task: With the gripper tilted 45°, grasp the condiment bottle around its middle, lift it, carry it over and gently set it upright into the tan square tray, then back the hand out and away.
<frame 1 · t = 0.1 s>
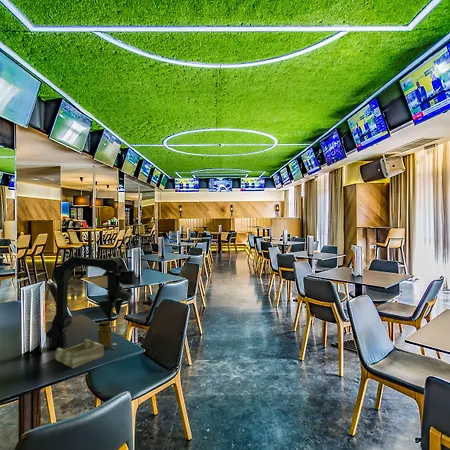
hand: (114, 317, 147), 15 cm above the table, tool pointing down, fingers open, 9 cm apart
condiment: (106, 347, 148), on the table
tan square tray: (79, 357, 136), on the table
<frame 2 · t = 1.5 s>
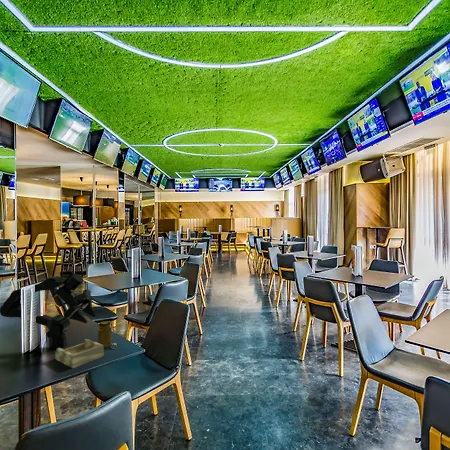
hand: (91, 319, 148), 13 cm above the table, tool tilted 45°, fingers open, 9 cm apart
nothing on the table moved.
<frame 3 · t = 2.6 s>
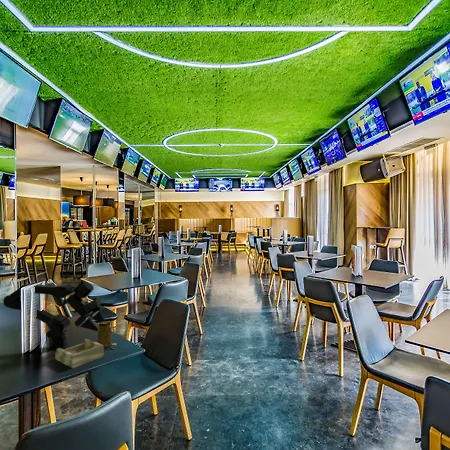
hand: (101, 327, 148), 10 cm above the table, tool tilted 45°, fingers open, 9 cm apart
nothing on the table moved.
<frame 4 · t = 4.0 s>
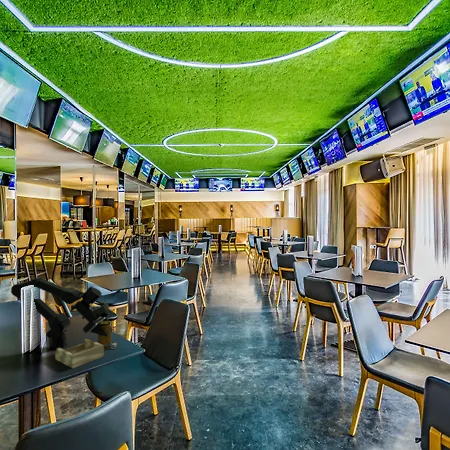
hand: (109, 333, 148), 7 cm above the table, tool tilted 45°, fingers closed on condiment, 6 cm apart
condiment: (106, 347, 148), on the table, touching gripper
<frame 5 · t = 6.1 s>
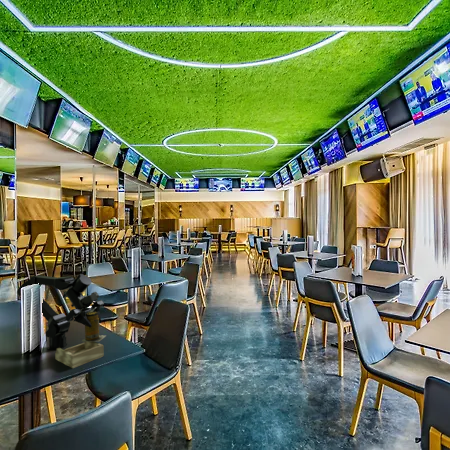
hand: (96, 324, 141), 13 cm above the table, tool tilted 45°, fingers closed on condiment, 6 cm apart
condiment: (94, 339, 141), point 6 cm above the table, touching gripper
when the fingers open (9 cm above the table, at t = 8.0 s): condiment drops 1 cm, resting on tan square tray.
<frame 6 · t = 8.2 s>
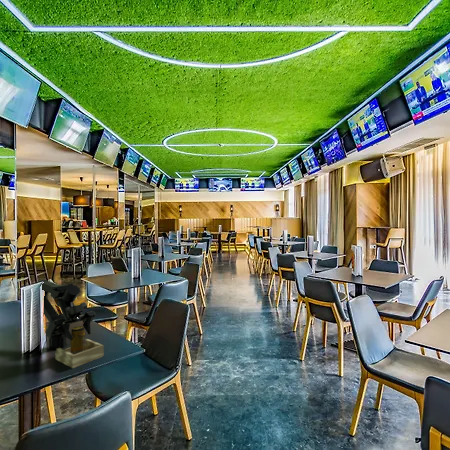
hand: (81, 336, 135), 10 cm above the table, tool tilted 45°, fingers open, 8 cm apart
condiment: (79, 355, 136), point 1 cm above the table, touching tan square tray
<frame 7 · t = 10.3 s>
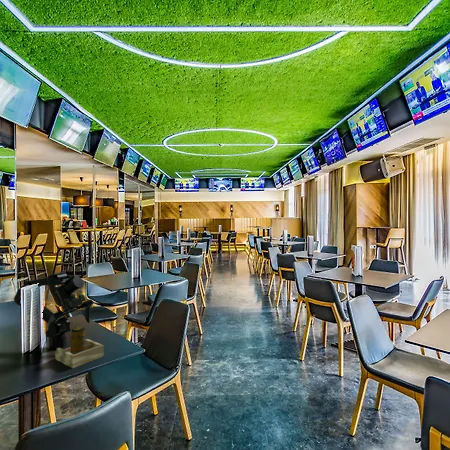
hand: (79, 326, 143), 11 cm above the table, tool tilted 30°, fingers open, 9 cm apart
nothing on the table moved.
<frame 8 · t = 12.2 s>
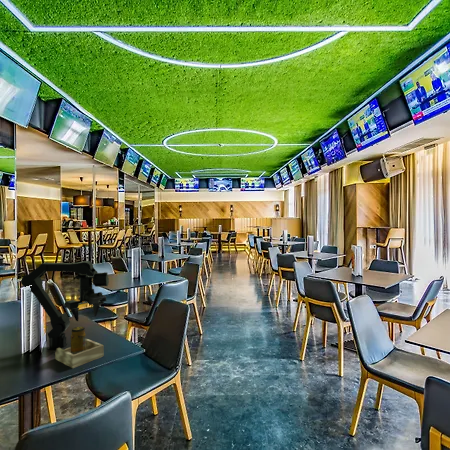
hand: (86, 318, 150), 13 cm above the table, tool pointing down, fingers open, 9 cm apart
nothing on the table moved.
at the end: condiment inside the target area on the tan square tray (0.1 cm from its centre), point 0.8 cm above the tan square tray's base; condiment tilted 0°; the gripper is holding nothing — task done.
